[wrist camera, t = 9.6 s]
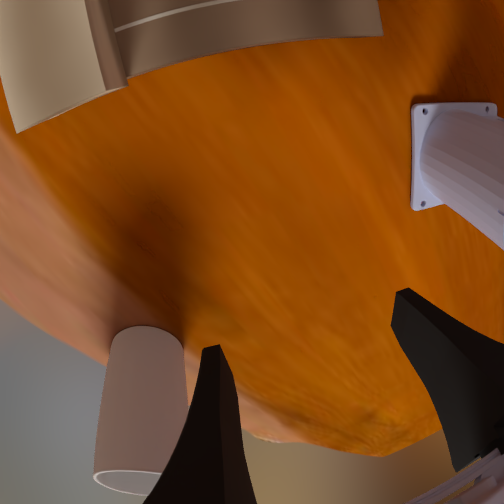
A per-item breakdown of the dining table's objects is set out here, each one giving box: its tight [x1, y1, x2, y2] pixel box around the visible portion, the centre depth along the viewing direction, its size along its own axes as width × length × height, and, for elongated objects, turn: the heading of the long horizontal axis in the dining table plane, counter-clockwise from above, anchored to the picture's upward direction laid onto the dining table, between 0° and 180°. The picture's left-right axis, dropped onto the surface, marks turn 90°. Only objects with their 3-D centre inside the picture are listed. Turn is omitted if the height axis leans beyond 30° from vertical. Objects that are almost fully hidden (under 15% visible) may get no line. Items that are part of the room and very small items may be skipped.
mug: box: [93, 326, 189, 496], centre depth 20 cm, size 10×7×12 cm, turn 132°
